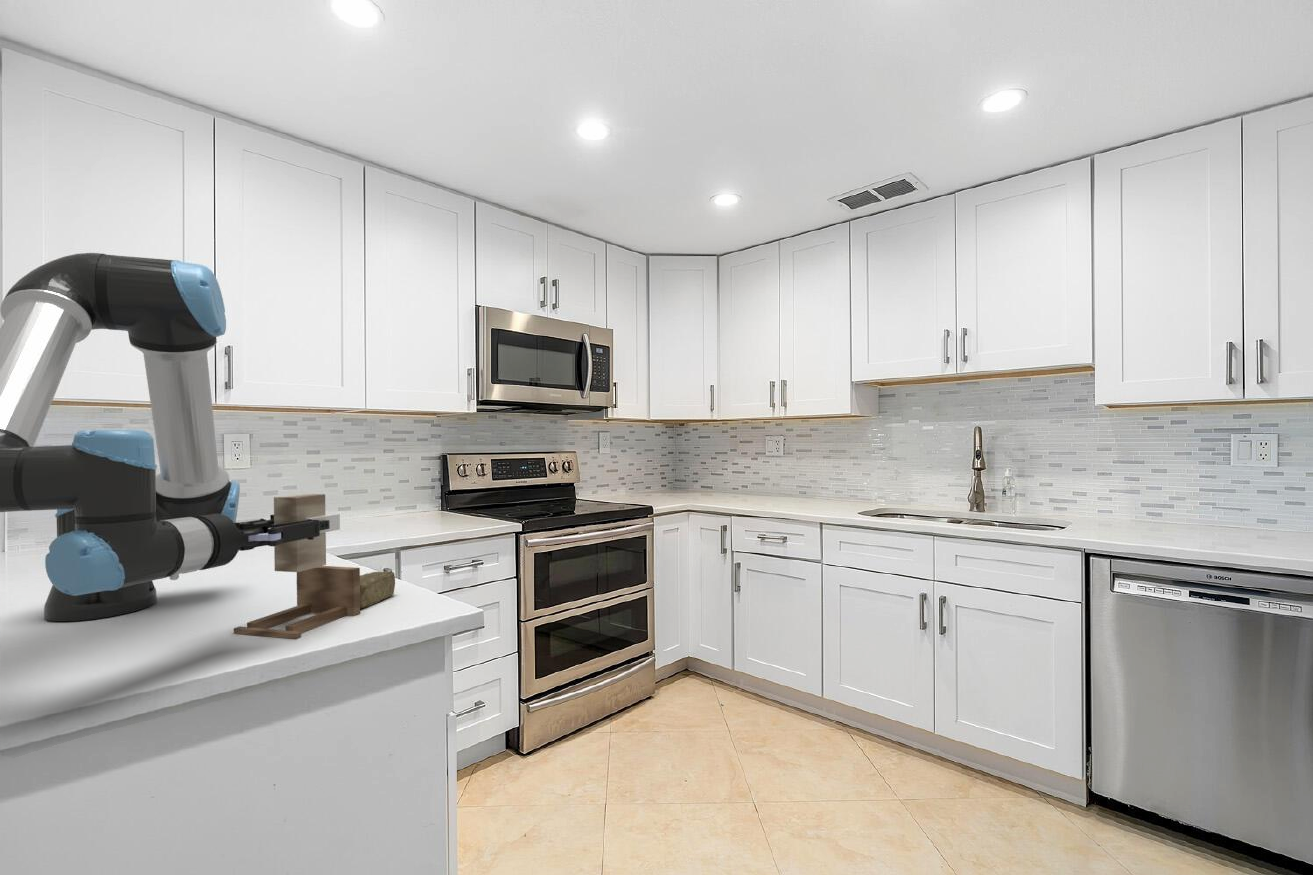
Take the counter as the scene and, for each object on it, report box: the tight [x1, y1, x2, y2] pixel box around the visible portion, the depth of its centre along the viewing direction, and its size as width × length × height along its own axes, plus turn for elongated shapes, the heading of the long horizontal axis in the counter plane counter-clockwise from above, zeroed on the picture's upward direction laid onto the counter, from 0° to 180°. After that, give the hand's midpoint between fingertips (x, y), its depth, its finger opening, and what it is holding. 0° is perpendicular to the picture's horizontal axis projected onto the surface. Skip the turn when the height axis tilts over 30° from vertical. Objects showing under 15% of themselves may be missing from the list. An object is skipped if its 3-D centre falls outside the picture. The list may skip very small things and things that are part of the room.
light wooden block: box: [273, 493, 327, 573], centre depth 102 cm, size 4×6×12 cm
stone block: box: [360, 571, 396, 609], centre depth 115 cm, size 6×12×5 cm, turn 170°
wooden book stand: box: [233, 565, 361, 640], centre depth 103 cm, size 12×14×8 cm
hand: (325, 521), depth 108 cm, fingers closed on light wooden block, 4 cm apart
